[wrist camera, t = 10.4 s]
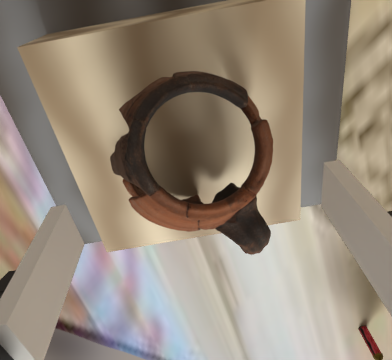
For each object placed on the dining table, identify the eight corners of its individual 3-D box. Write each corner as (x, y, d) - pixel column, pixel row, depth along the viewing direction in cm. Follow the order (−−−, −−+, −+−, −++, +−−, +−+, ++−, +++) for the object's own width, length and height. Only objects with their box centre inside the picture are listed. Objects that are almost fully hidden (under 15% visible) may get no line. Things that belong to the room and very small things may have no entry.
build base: (347, -78, 21) (410, -99, 15) (326, 193, 32) (357, 236, 27) (-36, -3, 21) (-107, 2, 16) (79, 235, 33) (62, 285, 28)
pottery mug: (85, 158, 22) (61, 153, 14) (178, 64, 23) (207, 9, 15) (206, 268, 24) (247, 319, 16) (286, 178, 25) (362, 183, 17)
